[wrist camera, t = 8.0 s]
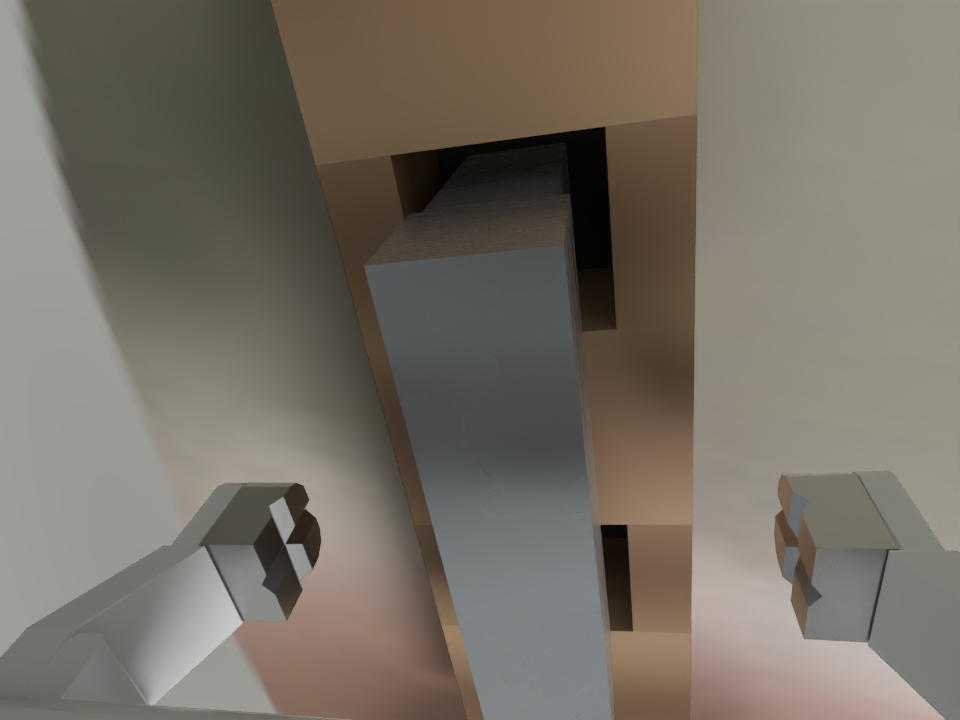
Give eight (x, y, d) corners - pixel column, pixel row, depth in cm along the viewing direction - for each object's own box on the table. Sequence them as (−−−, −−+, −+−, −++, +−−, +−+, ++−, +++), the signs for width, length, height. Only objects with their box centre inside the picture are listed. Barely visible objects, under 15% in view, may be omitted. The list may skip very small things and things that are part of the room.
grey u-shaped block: (608, 518, 17) (615, 752, 12) (521, 519, 17) (490, 744, 12) (575, 140, 12) (563, 245, 7) (458, 156, 13) (363, 266, 7)
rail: (676, 700, 20) (689, 801, 18) (497, 690, 22) (484, 783, 19) (670, -511, 8) (707, -749, 6) (257, -370, 9) (130, -512, 7)
